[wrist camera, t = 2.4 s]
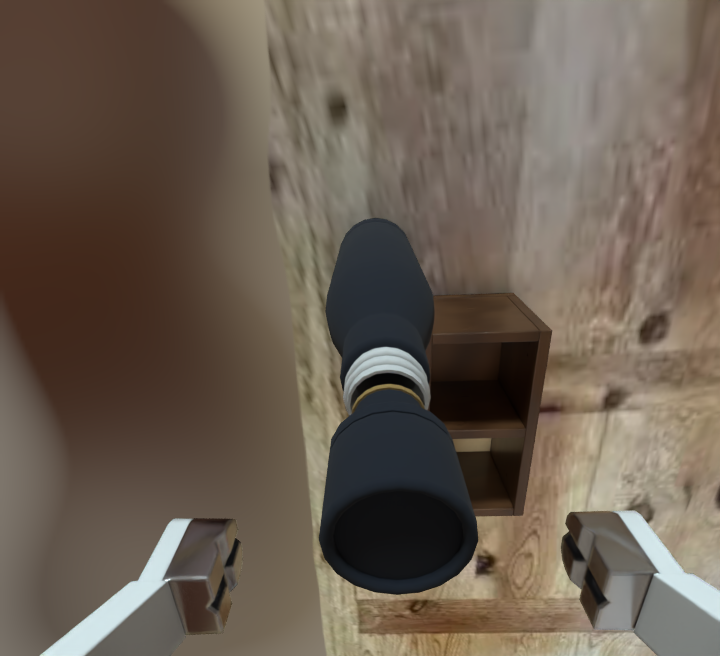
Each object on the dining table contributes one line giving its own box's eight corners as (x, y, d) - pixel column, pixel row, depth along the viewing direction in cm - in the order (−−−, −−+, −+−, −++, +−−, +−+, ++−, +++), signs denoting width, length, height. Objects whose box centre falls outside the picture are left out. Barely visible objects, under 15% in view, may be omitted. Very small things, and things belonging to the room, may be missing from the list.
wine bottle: (411, 217, 36) (557, 435, 9) (409, 287, 39) (515, 629, 11) (338, 218, 36) (249, 436, 9) (341, 288, 39) (277, 628, 11)
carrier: (513, 292, 39) (552, 330, 31) (495, 451, 46) (523, 516, 38) (409, 296, 39) (420, 334, 31) (407, 453, 46) (416, 517, 38)
